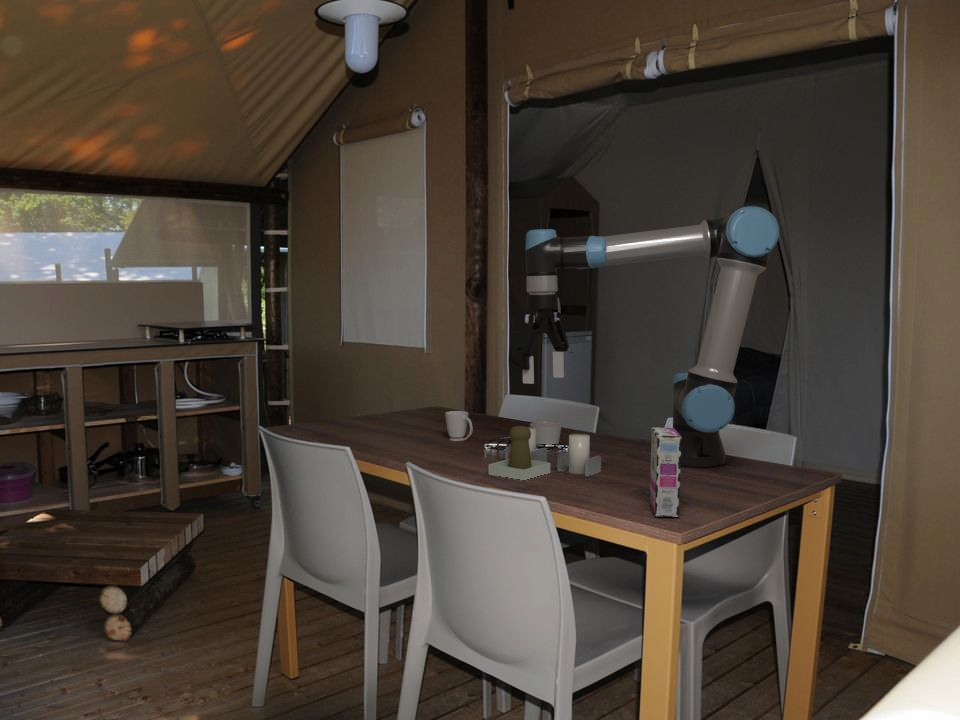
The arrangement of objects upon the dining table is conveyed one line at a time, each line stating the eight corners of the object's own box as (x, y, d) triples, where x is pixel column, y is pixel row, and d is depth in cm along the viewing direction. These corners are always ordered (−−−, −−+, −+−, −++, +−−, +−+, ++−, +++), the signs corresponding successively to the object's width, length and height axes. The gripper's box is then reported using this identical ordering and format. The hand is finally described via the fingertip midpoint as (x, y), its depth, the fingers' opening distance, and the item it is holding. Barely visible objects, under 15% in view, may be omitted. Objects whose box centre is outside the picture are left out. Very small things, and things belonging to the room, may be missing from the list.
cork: (515, 475, 203) (515, 429, 202) (503, 470, 208) (503, 425, 207) (537, 472, 205) (537, 427, 204) (524, 467, 211) (525, 423, 210)
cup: (457, 436, 257) (457, 410, 256) (480, 441, 250) (480, 413, 249) (440, 439, 252) (440, 412, 251) (462, 444, 245) (462, 416, 244)
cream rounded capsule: (539, 462, 219) (539, 428, 218) (528, 466, 215) (528, 431, 214) (523, 460, 222) (524, 426, 221) (512, 463, 218) (512, 428, 217)
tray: (550, 473, 207) (550, 462, 207) (524, 480, 199) (524, 470, 199) (515, 467, 214) (515, 457, 214) (488, 474, 206) (488, 464, 205)
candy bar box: (680, 519, 167) (682, 436, 165) (654, 518, 167) (656, 436, 166) (673, 504, 178) (674, 426, 176) (649, 503, 178) (650, 426, 177)
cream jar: (593, 471, 209) (593, 435, 208) (582, 475, 205) (582, 438, 204) (575, 468, 212) (576, 433, 211) (564, 472, 208) (565, 435, 207)
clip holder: (600, 472, 208) (601, 455, 208) (587, 476, 204) (588, 459, 203) (519, 459, 224) (519, 444, 223) (505, 462, 219) (505, 447, 219)
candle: (561, 443, 245) (561, 422, 245) (561, 449, 236) (561, 427, 236) (530, 443, 246) (530, 421, 246) (529, 449, 237) (529, 426, 237)
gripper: (556, 292, 219) (557, 374, 221) (499, 295, 199) (501, 385, 201) (581, 292, 215) (583, 375, 217) (525, 294, 195) (528, 386, 197)
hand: (543, 380), depth 209 cm, fingers open, 13 cm apart
